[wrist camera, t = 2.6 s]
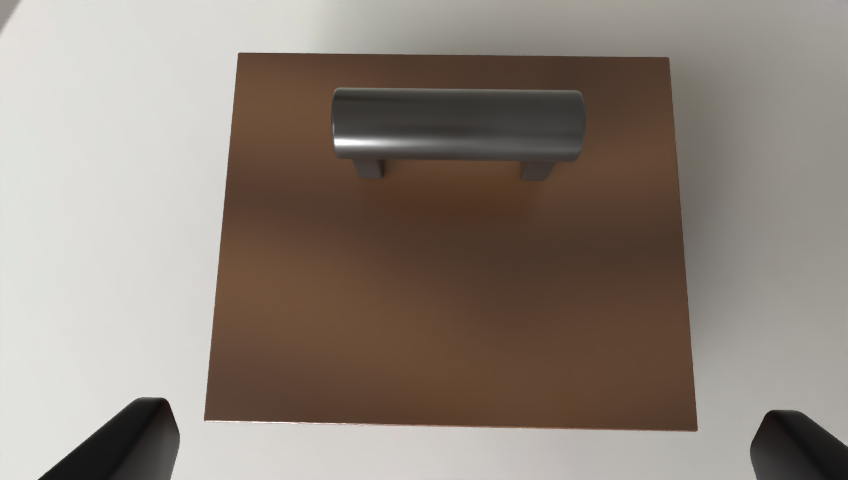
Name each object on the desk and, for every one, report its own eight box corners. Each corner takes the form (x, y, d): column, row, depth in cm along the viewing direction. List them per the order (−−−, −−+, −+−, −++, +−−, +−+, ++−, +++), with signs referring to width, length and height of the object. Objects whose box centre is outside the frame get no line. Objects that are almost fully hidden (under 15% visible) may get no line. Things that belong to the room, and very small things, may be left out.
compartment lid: (246, 65, 18) (183, -37, 13) (659, 70, 17) (738, -31, 13) (214, 419, 15) (126, 442, 11) (685, 428, 15) (790, 455, 11)
